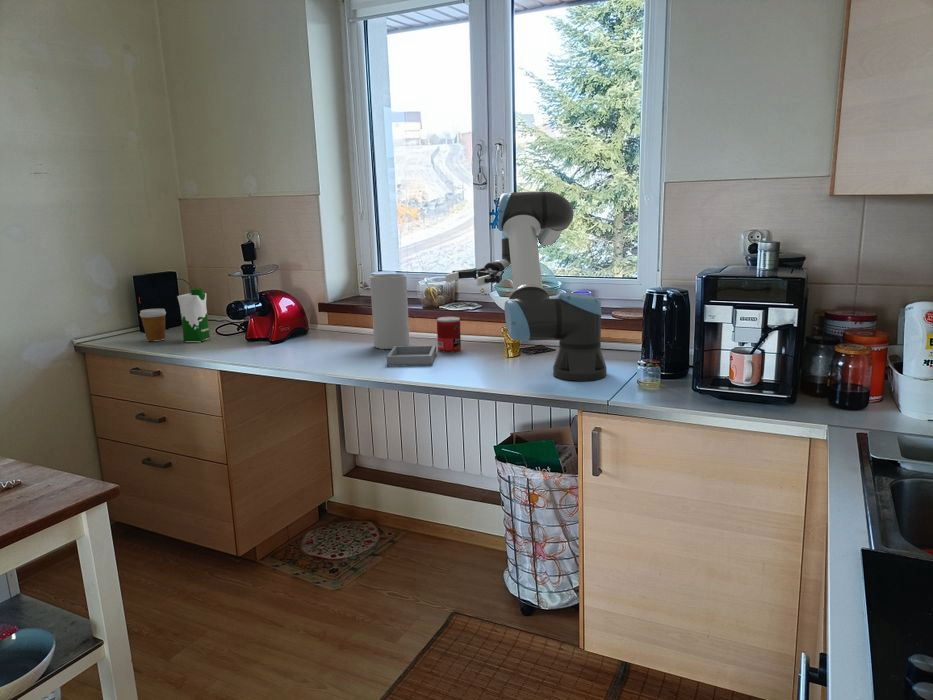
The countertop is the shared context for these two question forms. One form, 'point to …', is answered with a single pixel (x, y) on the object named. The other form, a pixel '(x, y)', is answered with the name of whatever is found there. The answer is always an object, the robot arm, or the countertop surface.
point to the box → (411, 355)
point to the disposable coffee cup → (153, 323)
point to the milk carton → (194, 315)
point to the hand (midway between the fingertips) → (461, 280)
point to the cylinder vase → (389, 310)
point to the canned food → (448, 334)
